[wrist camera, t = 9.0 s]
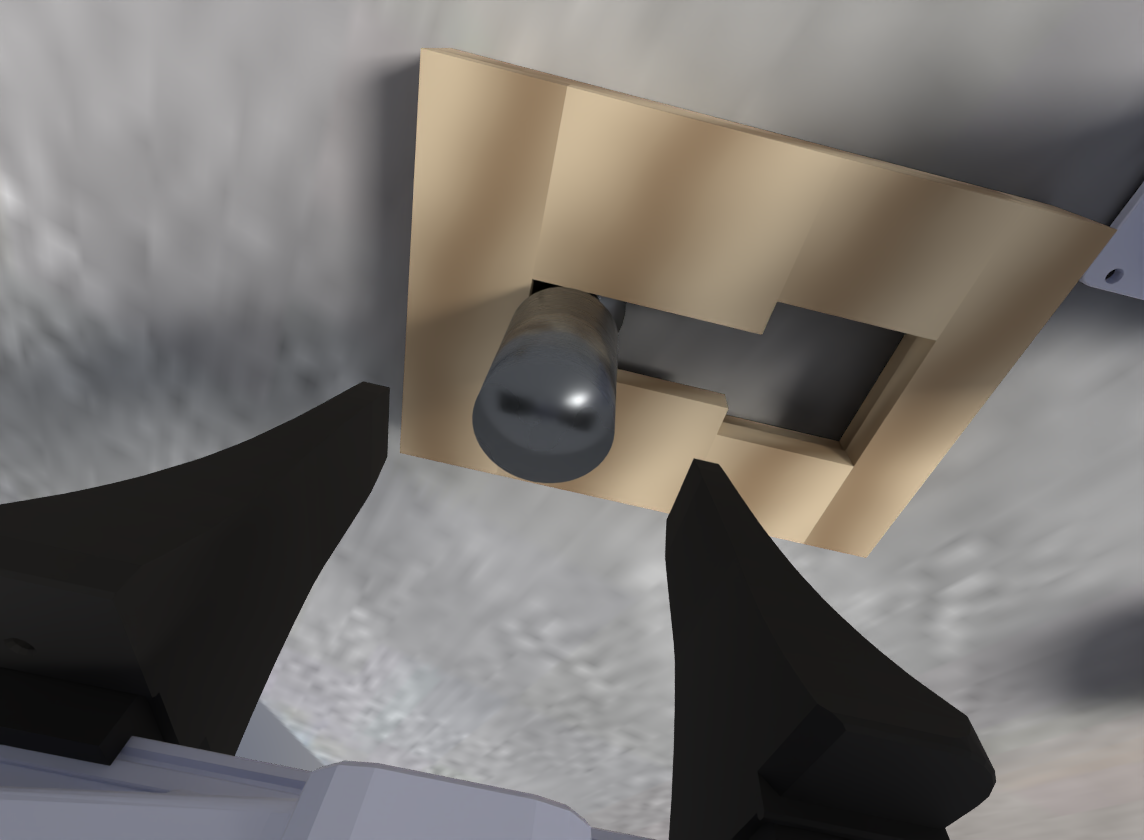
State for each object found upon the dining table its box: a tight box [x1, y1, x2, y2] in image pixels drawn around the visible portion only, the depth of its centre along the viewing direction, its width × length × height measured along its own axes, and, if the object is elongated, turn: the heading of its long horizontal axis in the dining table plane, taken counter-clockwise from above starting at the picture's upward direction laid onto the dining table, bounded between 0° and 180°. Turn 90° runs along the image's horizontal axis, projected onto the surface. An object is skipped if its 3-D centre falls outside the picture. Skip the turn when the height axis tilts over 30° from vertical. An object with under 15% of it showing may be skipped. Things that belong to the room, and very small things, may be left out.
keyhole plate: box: [400, 48, 1117, 558], centre depth 20 cm, size 20×14×3 cm
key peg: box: [472, 280, 625, 483], centre depth 18 cm, size 4×4×9 cm
